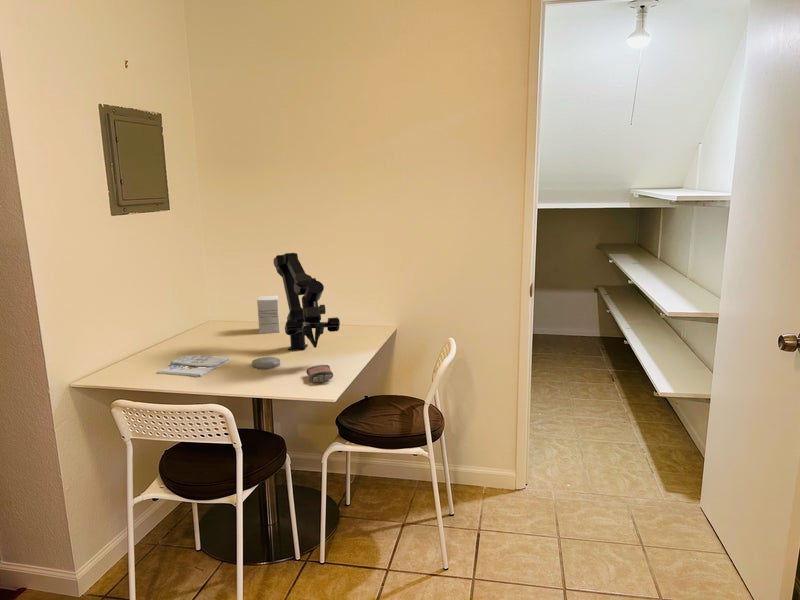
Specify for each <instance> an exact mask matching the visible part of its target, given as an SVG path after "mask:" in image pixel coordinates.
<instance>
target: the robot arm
mask: <svg viewBox="0 0 800 600" xmlns="http://www.w3.org/2000/svg"><path fill="white" fill-rule="evenodd" d="M273 265H274V267H275V270H276V272H277V274H278V275H279V276H280V277H281V278H282V281H283V282H282V283H283V286H284V287H283V288H284V292H285V296H286V300H287V301H286V302H287V304H288V305H287V307H288V314H287V317H286V322H285V325H284V332H285V334H286V335H287V336H289V338H290V339H289V340H290V345H289V346H288V348H287V349H288V351H305V350H306V348H308V346H309V344H306V338H307V339H308V340H309V342H310V343H311V345H312V347H313V348H315V349H316V348H317V347H318V343H319V342H318V341H319V338H320V336H322V335H323V334H324V329H325V328H327V331H328V332H331V333H332V332H338V331H339V329H340V324H341V322H340V318H339V317H337V316H336V317H328V318H327V321H322V315H325V314H326V312H327V311H326V305H325V304H319V301H320V299H321V297H322V295H323V291H324V289H325V287H324V284H323V283H322V282H321V281H318V280H317V279H316V277H313V276H311V275H309V274H307V273H306V271H305V269H304V268H303V265H302V263H301V261H300V260H299V257H298V253H296V252H286V253H283V254H277V255H276V256H275V257H274V258H273ZM299 296H301V301H300V297H299ZM301 305H302V306H301ZM313 329H314V333H313Z"/></svg>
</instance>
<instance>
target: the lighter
mask: <svg viewBox="0 0 800 600" xmlns="http://www.w3.org/2000/svg"><path fill="white" fill-rule="evenodd" d="M305 372H306V375H307V376H308V380H309V382H311V383H322V382H327V381H329V380H332V379H333V377H334V373H333V371H332V369H331V367H330V366H329V365H328V364H318V365H313V366H310V367H307V369H306V371H305Z"/></svg>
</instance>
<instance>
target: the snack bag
mask: <svg viewBox="0 0 800 600" xmlns="http://www.w3.org/2000/svg"><path fill="white" fill-rule="evenodd" d="M231 360H232V359H230V357H229V356H212V355H193V354H192V355H191V354H186V355H184V356H180V357H179V358H177V359H174V360H172V361H170V365H168V366H167V367H165V368H163V369H160V370H158V371H156V374H159V373H167V374H166V375H173V374H179V375H178V376H184V375H188V377H192V376H195V378H199V377H200V378H202V377H203V376H204V374H205V373H207V372H208V373H210V372H212V371H214V370H216V369H218V368H220V367H222V366H223V364H224V365H226V364H228V363H230V362H231ZM229 361H230V362H229ZM227 362H228V363H227ZM225 363H226V364H225ZM221 365H222V366H221ZM185 366H190V367H192V366H195V367H192V368H193V369H185V368H183V367H185ZM219 366H220V367H219ZM197 367H206V368H197ZM217 367H218V368H217ZM215 368H216V369H215ZM213 369H214V370H213ZM211 370H212V371H211ZM209 371H210V372H209ZM208 373H207V374H208ZM202 375H203V376H202ZM205 375H206V374H205Z"/></svg>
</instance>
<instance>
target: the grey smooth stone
mask: <svg viewBox="0 0 800 600" xmlns="http://www.w3.org/2000/svg"><path fill="white" fill-rule="evenodd" d="M279 366H281V359H280V358H279V357H276V356H264V357H262V356H261V357H258V358H255V359H253V360H252V361H251V367H252V369H255V368H257V369H256V370H270V369H275V368H278V367H279Z"/></svg>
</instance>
